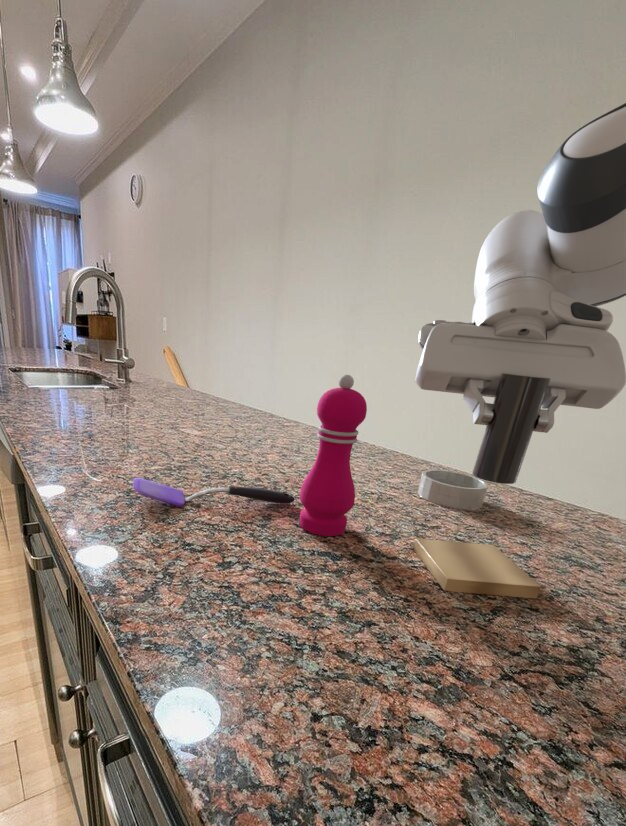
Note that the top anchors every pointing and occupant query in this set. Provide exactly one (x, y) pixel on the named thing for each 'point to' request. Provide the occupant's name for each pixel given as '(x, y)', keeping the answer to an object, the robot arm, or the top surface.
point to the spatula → (179, 499)
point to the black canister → (510, 427)
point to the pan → (452, 489)
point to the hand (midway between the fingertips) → (512, 425)
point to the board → (474, 569)
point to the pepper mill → (333, 461)
